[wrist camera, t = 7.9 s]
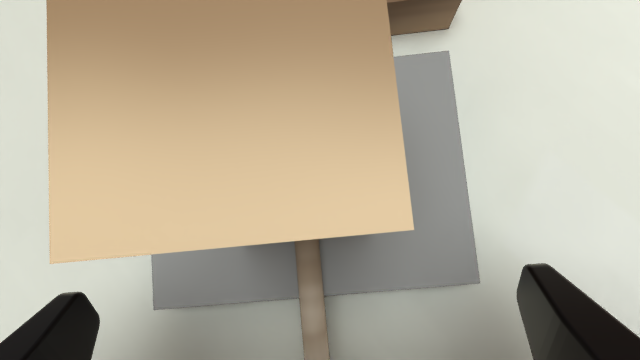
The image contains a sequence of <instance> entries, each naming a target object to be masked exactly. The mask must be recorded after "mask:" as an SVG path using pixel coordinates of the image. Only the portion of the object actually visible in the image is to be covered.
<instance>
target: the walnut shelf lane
mask: <svg viewBox="0 0 640 360" xmlns="http://www.w3.org/2000/svg"><path fill="white" fill-rule="evenodd" d="M461 1H462V0H387V8H388V16H389V24H390V33H391V35H399V34H407V33H415V32H424V31H432V30H441V29H448V28H449V26H450V24H451V22H452V20H453V18H454V16H455V13H456V11H457V9H458V7H459V5H460V3H461Z"/></svg>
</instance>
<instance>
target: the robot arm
mask: <svg viewBox="0 0 640 360" xmlns="http://www.w3.org/2000/svg"><path fill="white" fill-rule="evenodd" d="M517 302H518V306H519V310H520V313H521V317H522V320H523V324H524V327H525V331H526V334H527V338H528V341H529V345H530V349H531V352H532V356H533V359H534V360H640V338H639V337H638V336H637V335H636V334H634V333H633V332H632V331H631V330H629V329H628V328H627V327H626V326H625V325H623V324H622V323H621V322H620V321H618V320H617V319H616V318H615V317H613V316H612V315H611V314H610V313H608V312H607V311H606V310H605V309H603V308H602V307H601V306H600V305H598V304H597V303H596V302H595V301H593V300H592V299H591V298H590V297H589V296H587V295H586V294H585V293H584V292H582V291H581V290H580V289H579V288H577V287H576V286H575V285H574V284H572V283H571V282H570V281H569V280H567V279H566V278H565V277H564V276H562V275H561V274H560V273H559V272H557V271H556V270H555V269H554V268H552V267H551V266H550V265H548V264H543V263H541V264H527V265H525V266H524V267H523V270H522V273H521V277H520V281H519V284H518V288H517ZM99 325H100V319H99V315H98V313H97V312H96V310H95V309H94V307H93V306H92V304H91V303H90V301H89V300H88V298H87V297H86V295H85V294H84V293H82V292H68V293H62V294H60V295H58V296H57V297H56V298H54V299H53V300H52V301H51V302H50V303H48V304H47V305H46V306H45V307H44V308H42V309H41V310H40V311H39V312H37V313H36V314H35V315H34V316H33V317H31V318H30V319H29V320H28V321H27V322H25V323H24V324H23V325H22V326H21V327H19V328H18V329H17V330H16V331H14V332H13V333H12V334H11V335H10V336H8V337H7V338H6V339H5V340H4V341H2V342H1V343H0V360H91V358H92V354H93V350H94V346H95V342H96V338H97V334H98V330H99Z"/></svg>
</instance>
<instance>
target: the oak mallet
mask: <svg viewBox="0 0 640 360" xmlns="http://www.w3.org/2000/svg"><path fill="white" fill-rule="evenodd" d="M47 72H48V154H49V236H50V264H54V263H65V262H76V261H87V260H97V259H108V258H119V257H129V256H140V255H151V254H162V253H172V252H183V251H194V250H205V249H215V248H226V247H237V246H247V245H258V244H269V243H280V242H290V241H294V242H295V254H296V266H297V278H298V289H299V301H300V313H301V325H302V337H303V349H304V360H330V358H329V347H328V336H327V325H326V314H325V303H324V292H323V281H322V270H321V260H320V249H319V239H323V238H333V237H344V236H355V235H365V234H376V233H387V232H398V231H408V230H414V224H413V216H412V207H411V199H410V191H409V182H408V174H407V166H406V157H405V149H404V141H403V133H402V124H401V116H400V108H399V99H398V91H397V83H396V74H395V66H394V58H393V49H392V41H391V33H390V24H389V16H388V8H387V0H47Z"/></svg>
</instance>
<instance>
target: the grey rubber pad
mask: <svg viewBox="0 0 640 360" xmlns="http://www.w3.org/2000/svg"><path fill="white" fill-rule="evenodd" d="M393 58H394V66H395V74H396V83H397V91H398V99H399V108H400V116H401V124H402V133H403V141H404V149H405V157H406V166H407V174H408V182H409V191H410V199H411V207H412V216H413V224H414V230H408V231H398V232H387V233H376V234H365V235H355V236H344V237H333V238H323V239H319V249H320V260H321V270H322V281H323V292H324V296H331V295H343V294H355V293H368V292H380V291H392V290H404V289H417V288H429V287H441V286H453V285H465V284H478V283H480V278H479V271H478V263H477V256H476V248H475V241H474V234H473V226H472V219H471V211H470V204H469V196H468V189H467V182H466V174H465V167H464V159H463V152H462V144H461V137H460V130H459V122H458V115H457V107H456V100H455V92H454V85H453V78H452V70H451V63H450V55H449V51H441V52H432V53H424V54H415V55H406V56H398V57H393ZM151 255H152V281H153V306H154V310H159V309H172V308H184V307H196V306H208V305H221V304H233V303H245V302H257V301H270V300H282V299H294V298H299V289H298V278H297V266H296V254H295V242H294V241H290V242H280V243H269V244H258V245H247V246H237V247H226V248H215V249H205V250H194V251H183V252H172V253H162V254H151Z"/></svg>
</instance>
